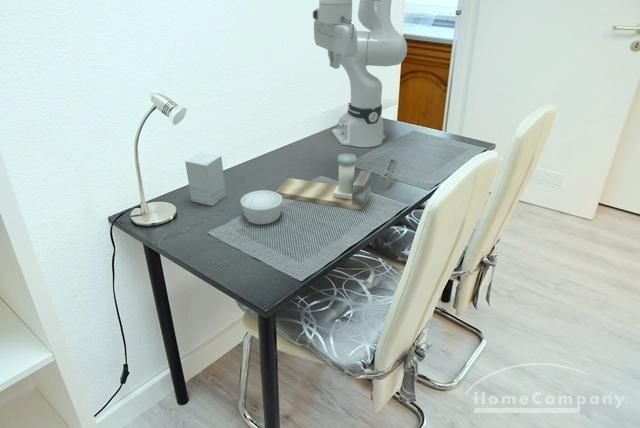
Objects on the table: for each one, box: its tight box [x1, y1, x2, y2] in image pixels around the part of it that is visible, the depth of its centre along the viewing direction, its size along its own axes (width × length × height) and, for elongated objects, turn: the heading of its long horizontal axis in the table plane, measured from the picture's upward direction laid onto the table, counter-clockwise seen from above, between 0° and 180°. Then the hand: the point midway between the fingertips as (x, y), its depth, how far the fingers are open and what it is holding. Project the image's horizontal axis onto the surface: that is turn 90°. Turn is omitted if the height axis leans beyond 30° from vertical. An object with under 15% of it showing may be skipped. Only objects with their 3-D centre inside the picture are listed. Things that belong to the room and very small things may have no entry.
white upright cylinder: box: [333, 153, 357, 200], centre depth 127 cm, size 6×6×11 cm
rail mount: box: [275, 170, 372, 211], centre depth 131 cm, size 26×10×8 cm, turn 72°
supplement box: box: [184, 151, 227, 207], centre depth 128 cm, size 7×7×13 cm
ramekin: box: [239, 189, 284, 225], centre depth 121 cm, size 11×11×5 cm
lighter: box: [379, 158, 398, 191], centre depth 137 cm, size 7×2×8 cm, turn 146°
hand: (334, 67), depth 129 cm, fingers closed
